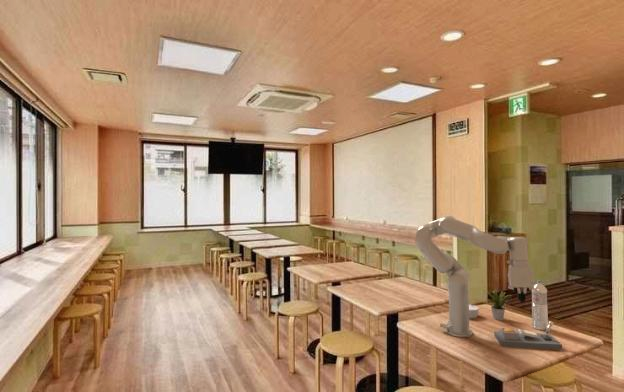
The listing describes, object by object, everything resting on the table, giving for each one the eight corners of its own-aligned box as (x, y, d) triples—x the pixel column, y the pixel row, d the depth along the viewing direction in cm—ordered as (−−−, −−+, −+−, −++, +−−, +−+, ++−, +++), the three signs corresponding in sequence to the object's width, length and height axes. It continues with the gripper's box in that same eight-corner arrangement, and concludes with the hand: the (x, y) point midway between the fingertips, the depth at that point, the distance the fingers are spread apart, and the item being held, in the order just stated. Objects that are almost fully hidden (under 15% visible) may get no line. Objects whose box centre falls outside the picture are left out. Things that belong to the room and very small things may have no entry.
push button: (505, 337, 167) (505, 331, 167) (502, 334, 171) (502, 327, 171) (515, 338, 166) (515, 332, 166) (512, 334, 170) (512, 328, 170)
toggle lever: (544, 336, 164) (550, 321, 164) (542, 334, 166) (548, 319, 166) (548, 337, 164) (554, 323, 163) (547, 336, 166) (552, 321, 165)
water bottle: (550, 331, 180) (549, 282, 179) (535, 330, 181) (534, 282, 181) (544, 326, 186) (543, 279, 186) (530, 325, 188) (529, 279, 188)
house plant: (507, 325, 188) (506, 295, 188) (480, 319, 198) (479, 290, 198) (516, 318, 198) (515, 290, 198) (490, 313, 208) (489, 285, 208)
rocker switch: (520, 334, 166) (521, 331, 166) (517, 331, 170) (518, 328, 169) (537, 337, 164) (537, 335, 164) (533, 334, 168) (534, 331, 168)
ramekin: (483, 317, 202) (483, 308, 202) (468, 320, 198) (468, 311, 198) (468, 311, 212) (468, 302, 212) (453, 314, 208) (453, 305, 208)
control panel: (501, 346, 164) (501, 334, 164) (494, 336, 175) (494, 325, 175) (562, 350, 158) (561, 338, 158) (550, 339, 170) (549, 327, 170)
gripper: (504, 264, 165) (507, 303, 165) (539, 264, 162) (542, 303, 162) (499, 261, 172) (502, 299, 172) (533, 261, 169) (536, 299, 169)
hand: (521, 301), depth 167 cm, fingers closed
